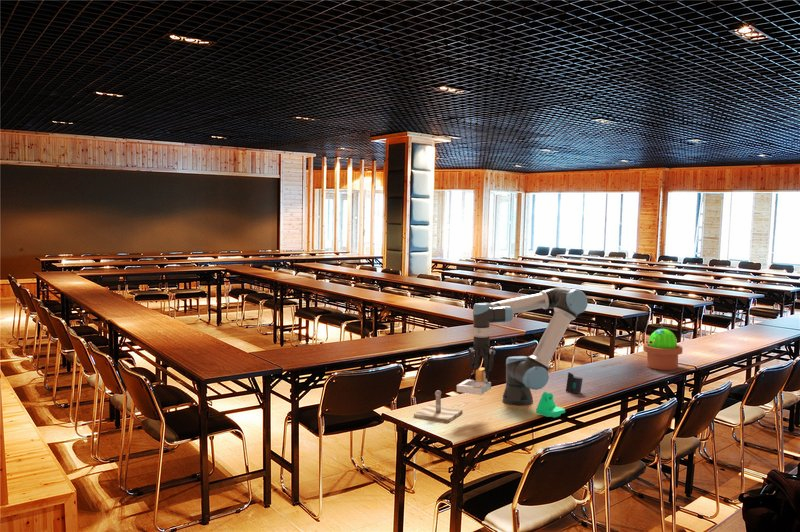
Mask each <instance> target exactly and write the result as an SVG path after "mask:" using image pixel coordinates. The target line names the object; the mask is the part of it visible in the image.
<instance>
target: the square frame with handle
mask: <svg viewBox="0 0 800 532" xmlns="http://www.w3.org/2000/svg"><path fill="white" fill-rule="evenodd" d="M484 371H485V367H480V366H479V368H478V369H477V370H476V377H475V380H474V379H465V380H463V381H461V382H460V383H458V384H456V392H457V393H463V394H471V395H480V396H482V395H484V394H486V393H487V392H488V391H490V390H491V389H492V382H491V381H487V382H484Z"/></svg>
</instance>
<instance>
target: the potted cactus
mask: <svg viewBox="0 0 800 532" xmlns="http://www.w3.org/2000/svg"><path fill="white" fill-rule="evenodd" d="M642 350H643V352H645V353H646V354H647V355H646V365H647V367H648V368H650V369H654V370H658V371H659V370H660V371H674V370H677V369H678V368H679V355H682V354H683V346H682V345H680V344H678V339H677V337H676V335H675V334H674V333H673V331H671V330H670V329H667V328H657V329H656V330H654V331H653V332H652V333H651V334H650V336H649V338H648V342H646V343H645V342H644V343H643V346H642Z"/></svg>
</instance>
